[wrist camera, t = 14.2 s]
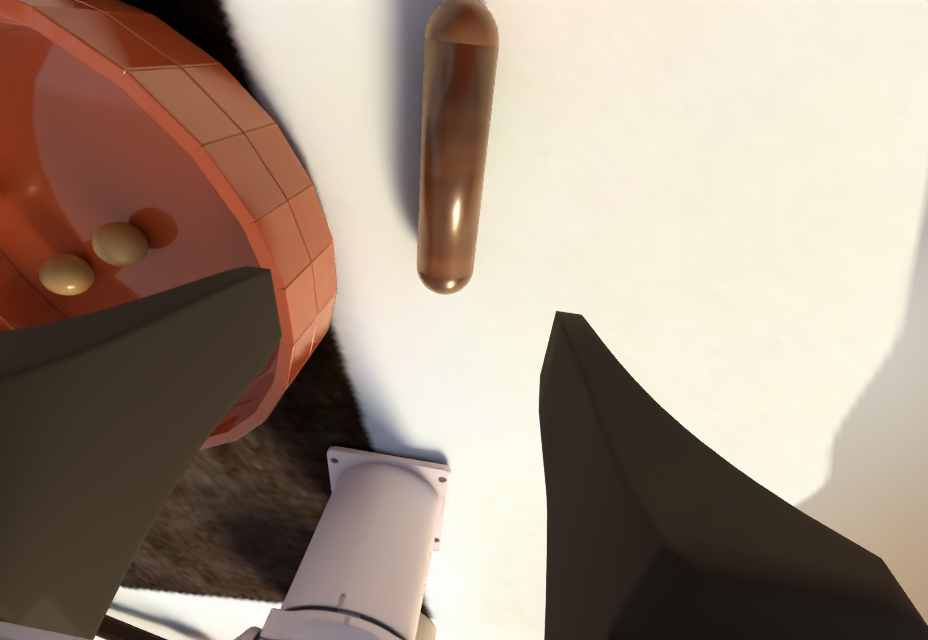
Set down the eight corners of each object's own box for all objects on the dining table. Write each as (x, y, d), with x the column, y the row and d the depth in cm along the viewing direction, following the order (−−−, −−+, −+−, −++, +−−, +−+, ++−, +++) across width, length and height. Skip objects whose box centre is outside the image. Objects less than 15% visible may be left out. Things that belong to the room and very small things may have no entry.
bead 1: (113, 275, 22) (82, 288, 20) (85, 294, 22) (53, 308, 20) (81, 242, 21) (46, 252, 19) (52, 261, 21) (16, 273, 20)
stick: (477, 285, 20) (460, 310, 18) (428, 273, 20) (407, 296, 18) (511, 3, 14) (492, -5, 12) (442, -3, 14) (413, -12, 12)
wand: (-65, 580, 43) (216, 692, 46) (-20, 542, 46) (239, 649, 49) (-56, 596, 45) (211, 701, 48) (-14, 558, 48) (233, 659, 52)
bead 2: (129, 264, 21) (166, 249, 21) (103, 279, 19) (143, 262, 19) (99, 226, 20) (137, 210, 20) (69, 238, 18) (110, 220, 18)
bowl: (350, 407, 25) (315, 479, 21) (50, 357, 27) (-40, 416, 22) (320, 10, 15) (238, -3, 11) (-177, -44, 16) (-427, -75, 12)
